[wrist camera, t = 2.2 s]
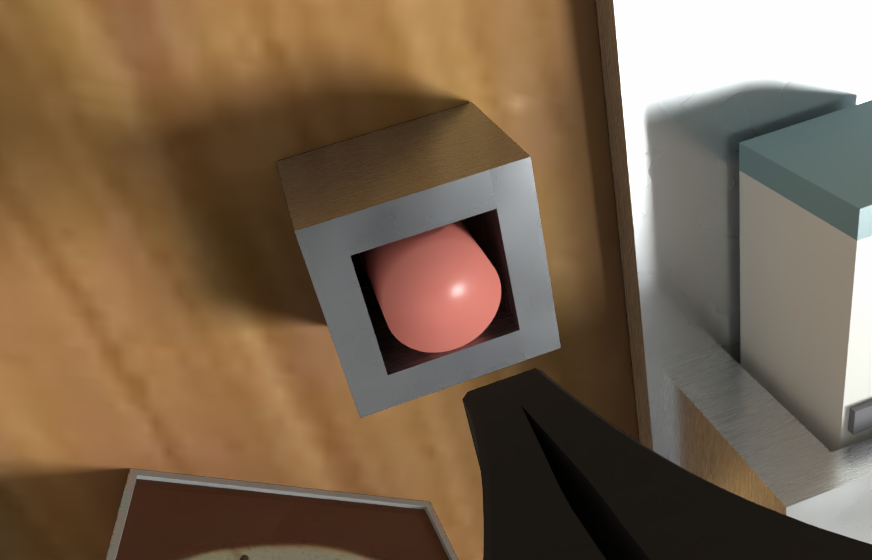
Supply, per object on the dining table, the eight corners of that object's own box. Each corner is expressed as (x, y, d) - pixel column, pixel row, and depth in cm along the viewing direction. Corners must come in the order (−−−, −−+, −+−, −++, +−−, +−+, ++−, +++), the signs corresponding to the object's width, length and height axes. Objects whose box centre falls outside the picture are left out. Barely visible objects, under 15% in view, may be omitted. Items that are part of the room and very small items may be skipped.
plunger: (458, 251, 21) (509, 330, 18) (366, 282, 21) (400, 367, 17) (439, 164, 20) (490, 230, 16) (339, 195, 19) (370, 269, 16)
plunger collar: (504, 270, 22) (561, 348, 19) (333, 327, 21) (360, 417, 18) (471, 102, 19) (530, 156, 16) (276, 161, 19) (294, 231, 15)
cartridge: (841, 462, 28) (944, 561, 24) (741, 501, 28) (830, 608, 24) (873, 98, 21) (1028, 157, 17) (739, 142, 20) (866, 212, 17)
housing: (882, 450, 31) (1047, 595, 25) (649, 540, 30) (764, 715, 24) (957, -146, 20) (1286, -142, 14) (591, -41, 19) (778, 13, 13)
